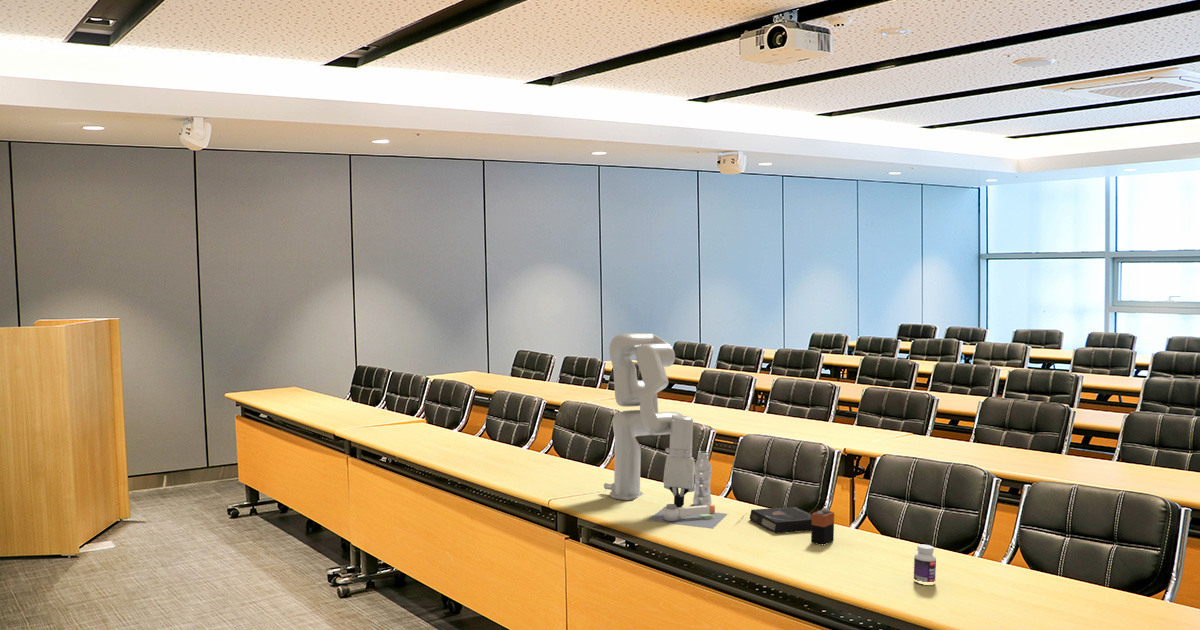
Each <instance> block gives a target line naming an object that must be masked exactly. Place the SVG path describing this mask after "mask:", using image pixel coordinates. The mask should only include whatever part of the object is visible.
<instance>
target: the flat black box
mask: <svg viewBox="0 0 1200 630" xmlns="http://www.w3.org/2000/svg"><path fill="white" fill-rule="evenodd" d="M750 510H751V511H750V514H749V519H750V521H751V522H753V523H755V524H756V525H758V526H760V527H762V528H763V529H766V530H768V531H769V532H772V533H773V532H774V534H775V533H776V534H786V533H785V532H789V533H796V532H795V531H802V532H811V528H812V514H813V513H812V514H811V513H810V512H807V511H805V510H803V509H801V508H798V507H796V506H787V507H771V508H759V509H758V508H757V509H756V508H755V509H754V508H753V509H750Z"/></svg>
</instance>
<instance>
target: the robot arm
mask: <svg viewBox="0 0 1200 630" xmlns="http://www.w3.org/2000/svg"><path fill="white" fill-rule="evenodd" d="M608 349H609V352H608V353H609V358H610V361H611V366H612V369H613V384H614V397H615V398H614V399H615V403H616V404H617V405H618V406H619V407H623V408H624V407H625V408H627V407H628V408H629V407H631V408H633V407H639V409H631V410H630V409H629V410H623V411H619V412H618V413H616V414H615V415H614V416H613V418H612V431H613V436H614V480H613V481H614V482H613V483H609V482H605V483H604V484H603V488H604V490H610V492H609V496H610V498H612V499H614V500H622V501H635V500H636V499H638V498H639V497H641V496H642V495H645V494H644V492H643V491H641V462H642V461H641V459H642V457H641V456H642V455H641V449H642V448H641V445H640V443H639V441H638V440H637V439H636V437H641V436H644V437H645V436H662V435H669V447H665V450H664V451H665V453H668V455H666V459H665V464H664V470H663V488H664V489H667V490H669V491H670V492H671V493H672V495H673V504H675V505H676V507H684V504H685V496H686V494H687V493H692V492H695V479H696V477H695V463H696V462H695V458H694V457H693V437H694V436H693V435H694V420H693V418H692V417H690V416H688V415H683V414H682V413H681V412H677V411H670V412H669V411H667V412H666V411H665V412H659V406H658V405H659V404H658V403H659V401H658V393H660V392H661V391H663V390H664V389H666V388H667V387H668V385H669V379H668V376H667V375H668V374H667V373H666V370H665V367H666V368H667V367H670V366H672V365H674V362H675V360H676V353H675V350H674V348H673V347H672V345H671V344H669V343H668V342H667V341H666V340H664V339H662V338H661V337H660V336H657V335H656V334H654V333H649V332H642V333H641V332H639V333H637V332H630V333H629V332H626V333H625V332H624V333H620V334H617V335H615V336H614V337H613V338H612V339H611V340H610V343H609V348H608ZM630 357H635V358H636V363H637V366H638V368H639V372H640V373H639V374H640V376H641V378H642V379H641V380H640V379H638V375H637V367H636V365H635V363H634V362H633V360H632V359H631V358H630ZM679 489H680V491H679Z"/></svg>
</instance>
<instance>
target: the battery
mask: <svg viewBox="0 0 1200 630" xmlns="http://www.w3.org/2000/svg"><path fill="white" fill-rule="evenodd" d="M834 531H835V512H833V511H832V510H831V511H830V509H829V507H823V508H822V509H821V510H817V511H816V512H812V528H811V531H810V532H811V535H810V536H811V538H810V542H811V543H812V544H814V543H817V544H816V545H819V544H823V545H822V546H825V545H827V544H826V543H828V544H829V542H830V543H832V542H834V539H835V538H834V536H835V535H834V534H835V532H834ZM831 541H832V542H831ZM824 544H825V545H824Z"/></svg>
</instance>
